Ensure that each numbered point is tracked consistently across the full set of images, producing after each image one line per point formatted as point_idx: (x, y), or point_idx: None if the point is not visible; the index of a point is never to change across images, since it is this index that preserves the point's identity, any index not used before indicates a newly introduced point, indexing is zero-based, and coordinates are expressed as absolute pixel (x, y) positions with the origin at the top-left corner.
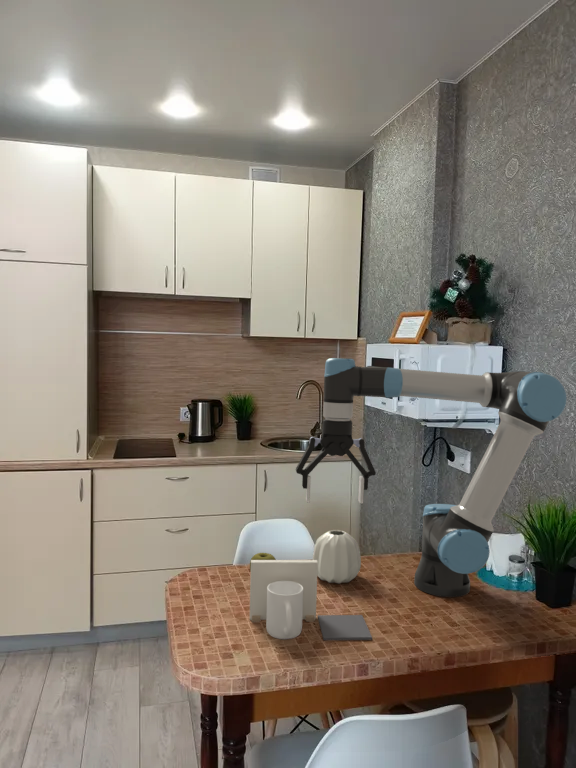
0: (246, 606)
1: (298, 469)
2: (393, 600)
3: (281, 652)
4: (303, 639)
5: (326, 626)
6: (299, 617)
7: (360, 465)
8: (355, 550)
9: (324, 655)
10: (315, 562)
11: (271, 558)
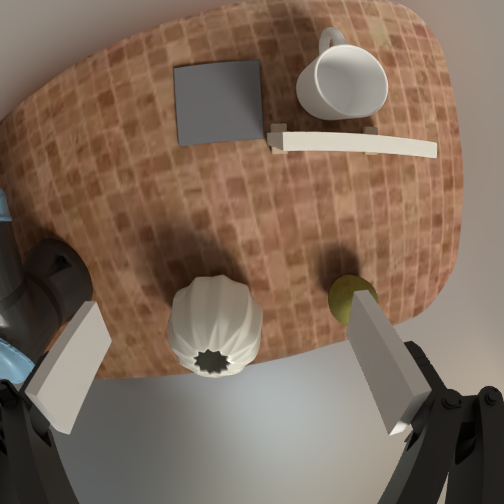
0: (380, 184)
1: (498, 405)
2: (121, 221)
3: None
4: (292, 65)
5: (250, 97)
6: (308, 65)
7: (14, 466)
8: (173, 320)
9: (260, 22)
10: (288, 132)
11: (346, 303)
